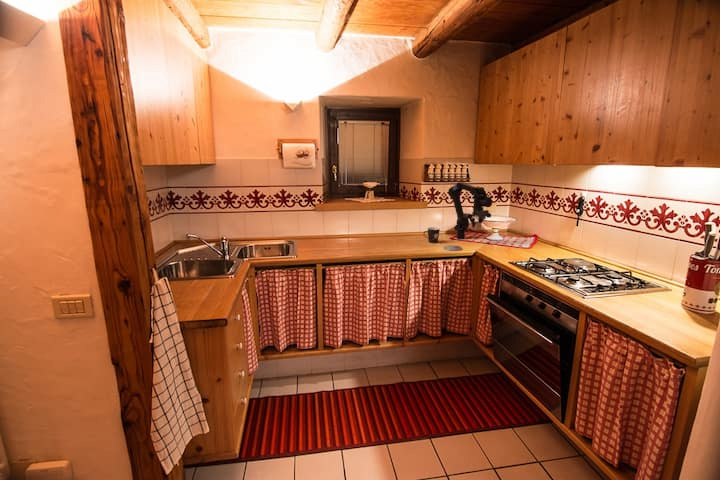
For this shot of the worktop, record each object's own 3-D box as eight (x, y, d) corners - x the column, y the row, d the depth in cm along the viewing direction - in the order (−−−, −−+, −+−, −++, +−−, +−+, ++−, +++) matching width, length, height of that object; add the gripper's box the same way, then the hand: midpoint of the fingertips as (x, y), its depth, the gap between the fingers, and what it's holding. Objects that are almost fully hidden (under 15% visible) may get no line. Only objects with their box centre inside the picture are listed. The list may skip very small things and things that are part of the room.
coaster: (440, 246, 243) (440, 246, 243) (456, 245, 245) (456, 244, 245) (448, 251, 231) (448, 250, 231) (465, 250, 234) (465, 249, 233)
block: (471, 228, 253) (471, 221, 252) (476, 228, 254) (477, 221, 253) (475, 230, 247) (476, 223, 246) (481, 229, 248) (481, 222, 247)
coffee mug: (438, 240, 259) (439, 227, 257) (439, 243, 251) (440, 229, 249) (422, 240, 261) (422, 227, 258) (423, 243, 252) (423, 229, 250)
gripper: (471, 207, 237) (469, 230, 241) (496, 206, 241) (494, 229, 244) (463, 205, 248) (462, 227, 251) (487, 204, 251) (486, 225, 255)
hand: (476, 227), depth 250 cm, fingers closed on block, 4 cm apart
